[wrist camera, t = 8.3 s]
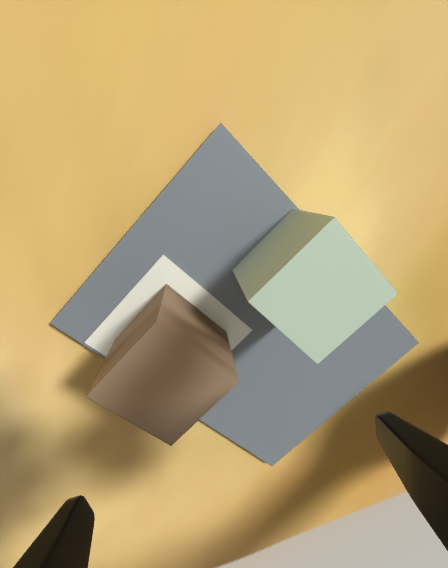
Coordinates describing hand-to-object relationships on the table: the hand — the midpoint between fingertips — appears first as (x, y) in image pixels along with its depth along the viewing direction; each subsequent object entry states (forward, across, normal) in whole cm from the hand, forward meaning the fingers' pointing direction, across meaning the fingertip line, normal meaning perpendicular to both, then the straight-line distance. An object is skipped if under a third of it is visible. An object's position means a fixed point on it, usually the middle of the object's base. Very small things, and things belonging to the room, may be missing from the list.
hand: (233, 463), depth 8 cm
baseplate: (+11, -2, +2) cm, 11 cm away
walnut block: (+10, +3, 0) cm, 10 cm away
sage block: (+10, -5, -2) cm, 12 cm away
